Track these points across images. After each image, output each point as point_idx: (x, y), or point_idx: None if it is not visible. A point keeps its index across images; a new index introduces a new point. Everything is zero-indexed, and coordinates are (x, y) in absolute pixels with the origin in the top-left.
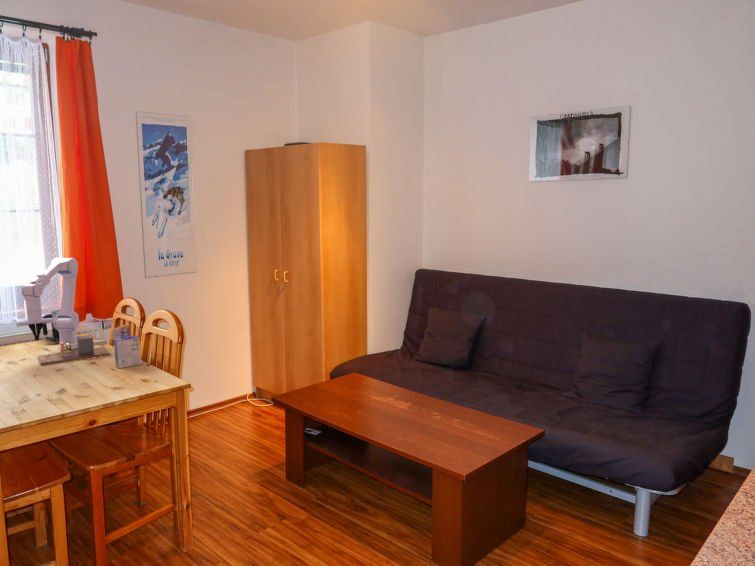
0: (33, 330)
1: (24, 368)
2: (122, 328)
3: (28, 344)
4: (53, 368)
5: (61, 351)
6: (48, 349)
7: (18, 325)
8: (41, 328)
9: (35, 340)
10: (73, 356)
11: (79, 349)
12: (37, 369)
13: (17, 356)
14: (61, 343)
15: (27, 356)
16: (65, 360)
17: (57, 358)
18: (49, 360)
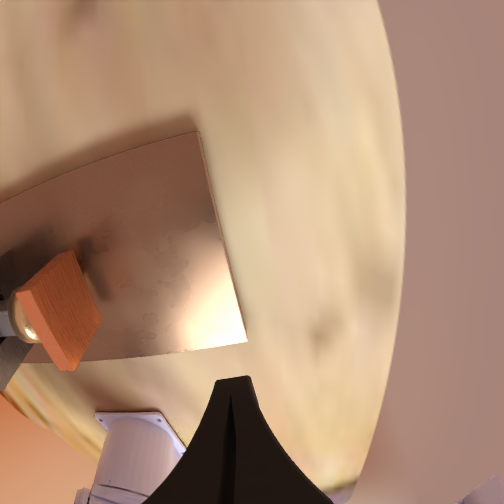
0: (271, 476)
1: (302, 101)
2: None
3: None
4: (111, 33)
5: (61, 259)
6: None
7: (487, 496)
8: (151, 496)
9: (249, 377)
10: (27, 237)
11: None
12: (209, 37)
13: (347, 389)
14: (29, 300)
15: (305, 380)
16: (55, 178)
17: (101, 222)
18: (142, 183)
